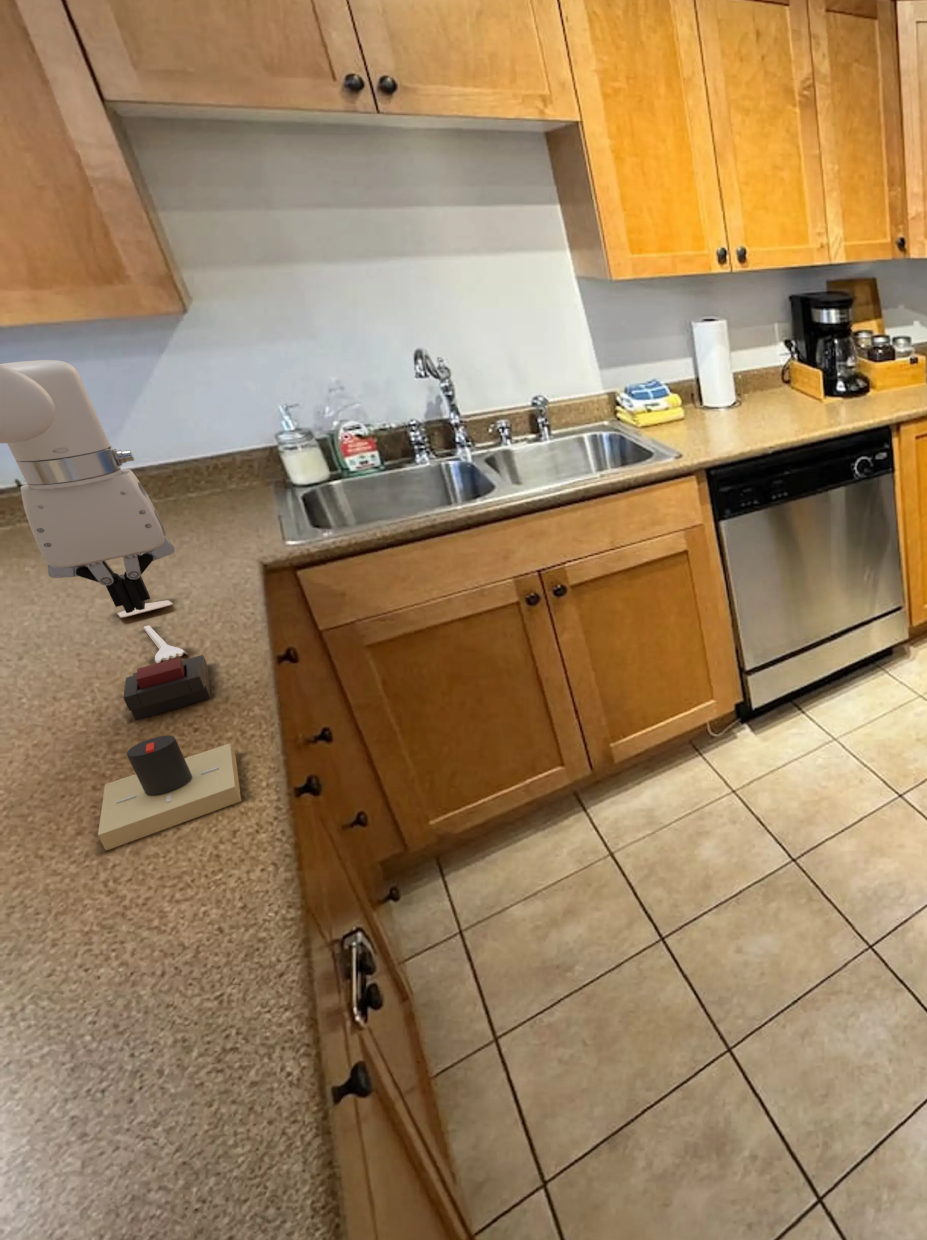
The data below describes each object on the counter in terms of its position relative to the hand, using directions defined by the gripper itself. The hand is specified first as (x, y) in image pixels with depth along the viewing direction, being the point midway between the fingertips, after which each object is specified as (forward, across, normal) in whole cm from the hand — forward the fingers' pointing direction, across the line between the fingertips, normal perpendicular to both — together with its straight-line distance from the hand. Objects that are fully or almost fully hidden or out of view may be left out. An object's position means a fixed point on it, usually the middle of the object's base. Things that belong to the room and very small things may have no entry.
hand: (135, 607), depth 97 cm
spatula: (+14, +5, -54) cm, 56 cm away
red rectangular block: (+10, 0, 0) cm, 10 cm away
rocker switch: (+14, 0, -4) cm, 14 cm away
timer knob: (+11, 0, +28) cm, 30 cm away
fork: (+14, +2, -23) cm, 27 cm away
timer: (+13, 0, +28) cm, 31 cm away
